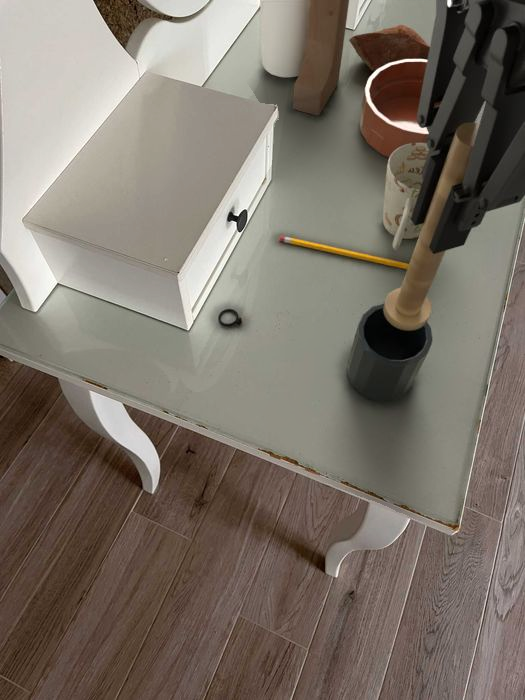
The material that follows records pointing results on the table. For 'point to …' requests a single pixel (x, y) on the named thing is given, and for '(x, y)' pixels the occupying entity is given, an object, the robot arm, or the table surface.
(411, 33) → the fossil
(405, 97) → the bowl
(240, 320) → the ring
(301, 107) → the wooden block
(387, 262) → the pencil
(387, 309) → the stirring stick
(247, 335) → the table surface
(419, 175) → the mug
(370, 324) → the utensil pot
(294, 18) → the cup
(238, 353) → the table surface
